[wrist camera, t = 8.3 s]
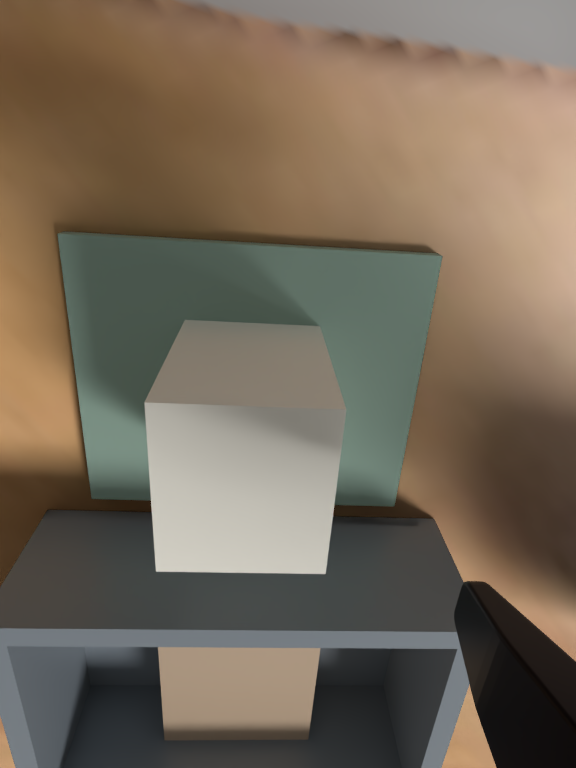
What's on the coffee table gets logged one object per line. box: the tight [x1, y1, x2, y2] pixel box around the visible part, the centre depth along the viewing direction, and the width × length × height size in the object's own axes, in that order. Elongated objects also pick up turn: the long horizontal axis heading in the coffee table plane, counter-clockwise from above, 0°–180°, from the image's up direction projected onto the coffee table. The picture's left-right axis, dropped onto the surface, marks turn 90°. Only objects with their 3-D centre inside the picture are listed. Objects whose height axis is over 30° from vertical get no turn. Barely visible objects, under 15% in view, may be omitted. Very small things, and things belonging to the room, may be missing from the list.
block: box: [144, 320, 346, 574], centre depth 15 cm, size 4×5×6 cm
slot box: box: [0, 510, 470, 768], centre depth 20 cm, size 16×11×6 cm
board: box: [58, 231, 442, 506], centre depth 18 cm, size 12×10×1 cm
